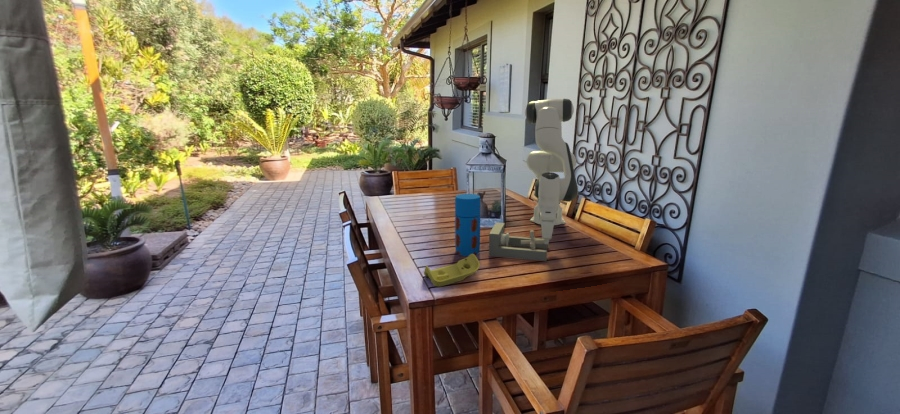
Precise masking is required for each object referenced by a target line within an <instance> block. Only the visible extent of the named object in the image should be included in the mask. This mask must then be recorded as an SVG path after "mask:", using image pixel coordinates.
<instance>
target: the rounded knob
mask: <svg viewBox="0 0 900 414" xmlns="http://www.w3.org/2000/svg"><path fill="white" fill-rule="evenodd" d="M509 236H510V232H506V233H504V234H501V245H503V246H505V247H509V246H508V245H509Z"/></svg>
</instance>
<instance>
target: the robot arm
mask: <svg viewBox="0 0 900 414" xmlns="http://www.w3.org/2000/svg"><path fill="white" fill-rule="evenodd" d="M573 104H574V103H573V102H572V100H571V99H569V98H549V99H541V100H532V101H530V102H528V103H527V104H526V106H525V109H524V116H525V118H526V121H527V122H528V123H529V124H532V125H535V128H534V129H535V131H534V134H535V135H534V136H535V137H534V138H535V144H536V145H537V147H538V148H539V149H540V150H535V151H534V150H533V151H530V153H529V154H528V155H527V157H526V165H527V167H528V169H529V170H530V171H532V172H533V173H534V175H535V176H536V177H535V178H536V179H537V180H536V181H535V182H534V184H533V185H534V193H533V196H534V197H535V198H536V199H537V202H536V203H537V204H536V205H534V208H533V216H532V217H531V218H530V220H529V222H533V223H536V224H538V225H540V227H541V230H540V231H541V239H544V243H545V244H548V245H549V243H550V240H552V237H553V233H554V226H558V225H563V224H566V221H565V219H564V218H563V207H561V205H560V204H561V201H562V202H569V203H570V202H572V201H574V200H576V198H577V197H578V194H579V186H578V182H577V180H576V174H575V170H574V169H575V168H576V166H577V158H576V156H575V154H574V153H573V152H571V149H570V145H569V144H568V143H567V141H565V140H564V139H563V136H562V128H563V127H562V126H563V125H562V123H565V122H569V121H570V120H571V119H572V117H573V115H574V112H575V111H574V110H575V107H574V105H573ZM558 173H563V175H564V177H563V178H561V177H560V175H559V174H558Z"/></svg>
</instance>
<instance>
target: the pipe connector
mask: <svg viewBox="0 0 900 414" xmlns="http://www.w3.org/2000/svg"><path fill="white" fill-rule="evenodd" d="M529 238H530V240H521V244H530V247H531V248H530V247H529V248H530V249H536V248H535V244H545V243H544V239H543V238H542V239H543V240H535V238H536V236H535V230H532V229H531V230H529Z"/></svg>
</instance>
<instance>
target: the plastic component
mask: <svg viewBox="0 0 900 414" xmlns="http://www.w3.org/2000/svg"><path fill="white" fill-rule="evenodd" d="M480 267H481V263H480V261H479V259H478V258H477V255H474V254H470V255H469V256H466V257H465V258H463V259H460V260H458V261H457V262H455V263H453V264H450V265H446V266H443V267H439V268H436V269H432V270H431V269H430V267H429V266H428V265H426V266H425V268H424V272H423V274H424V276H425V277H426V278H427V277H428V278H429V280H430V281H431V284H432V285H433V286H434V287H439V288H440V287H444V286H447V285H450V284H454V283H457V282H460V281H463V280H465V278H467V277H469V276H472V275H474V274H475V273H476V272H477V271H478V270H479V269H480Z"/></svg>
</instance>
